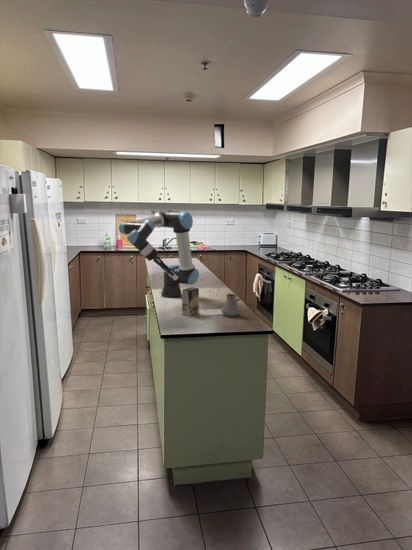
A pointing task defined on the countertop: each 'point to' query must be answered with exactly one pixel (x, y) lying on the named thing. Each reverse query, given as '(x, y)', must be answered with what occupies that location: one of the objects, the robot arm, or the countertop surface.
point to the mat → (210, 312)
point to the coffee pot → (231, 306)
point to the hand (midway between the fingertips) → (174, 277)
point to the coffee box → (190, 301)
